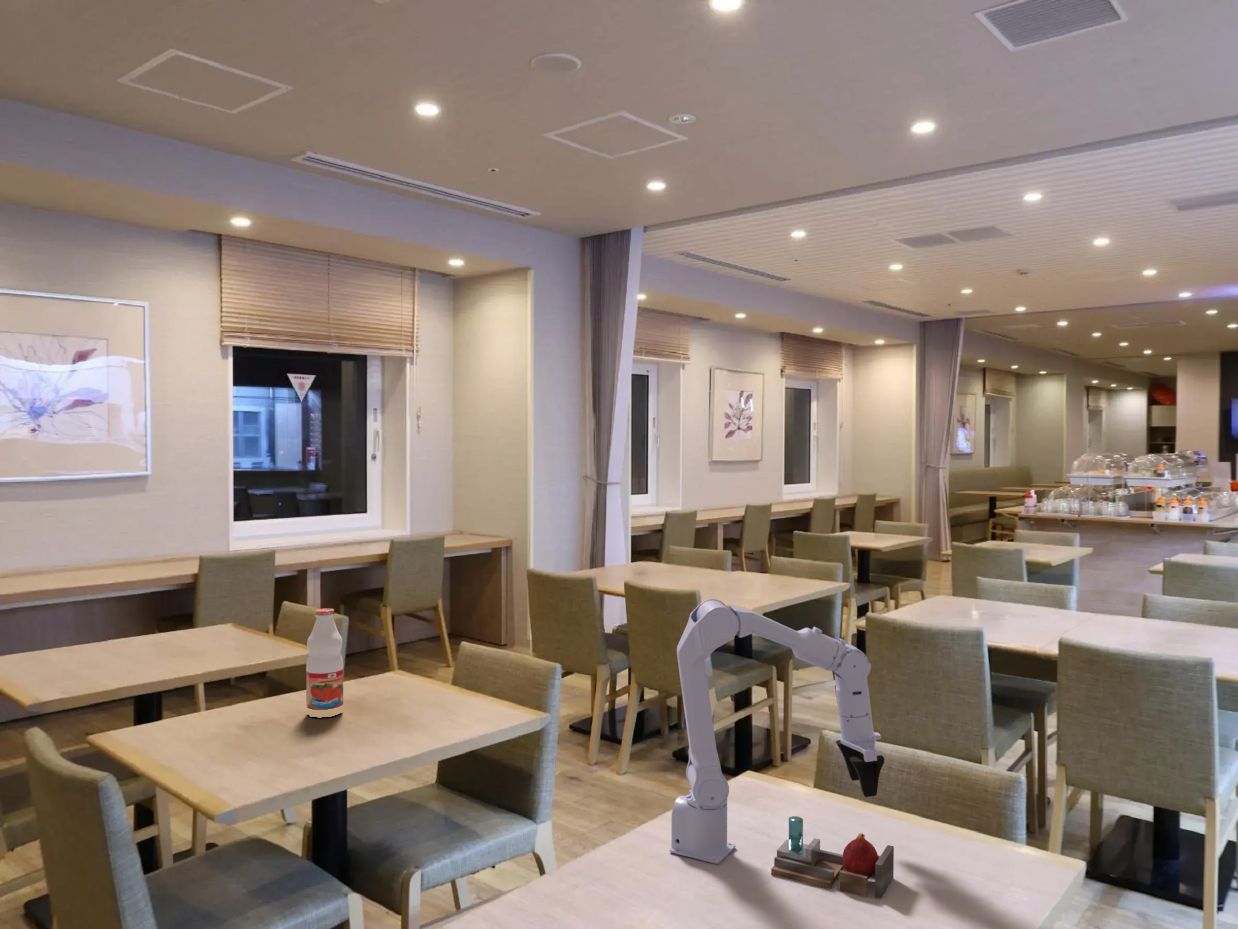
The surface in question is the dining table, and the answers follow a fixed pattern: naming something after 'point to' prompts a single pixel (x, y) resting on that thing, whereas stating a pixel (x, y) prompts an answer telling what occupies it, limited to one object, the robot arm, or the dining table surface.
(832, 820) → the dining table surface
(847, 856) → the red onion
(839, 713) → the robot arm
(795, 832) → the ram
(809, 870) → the frame
